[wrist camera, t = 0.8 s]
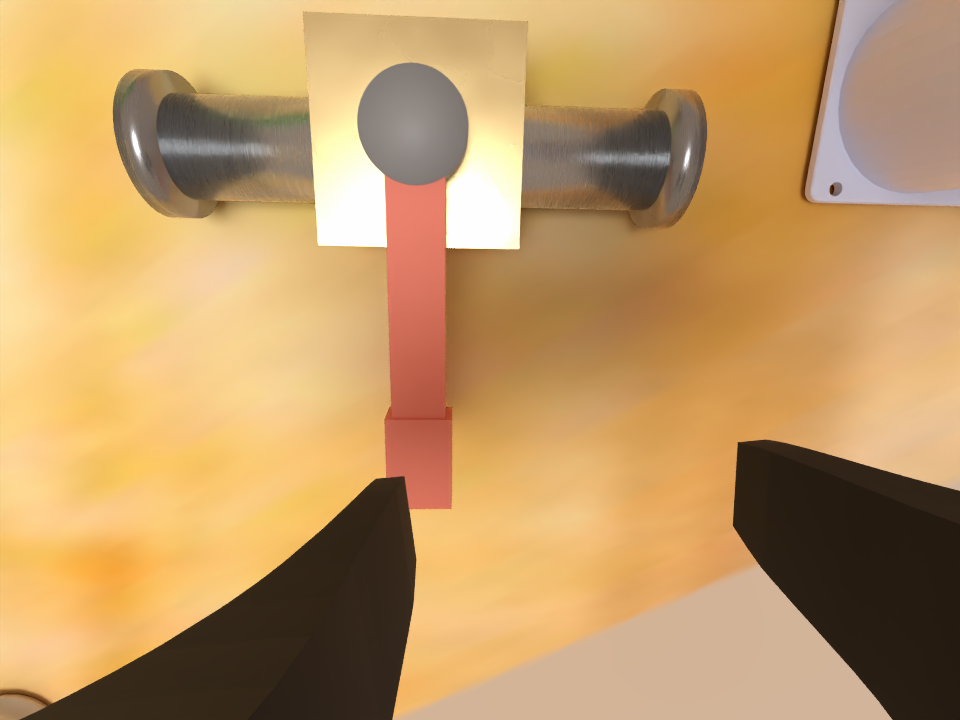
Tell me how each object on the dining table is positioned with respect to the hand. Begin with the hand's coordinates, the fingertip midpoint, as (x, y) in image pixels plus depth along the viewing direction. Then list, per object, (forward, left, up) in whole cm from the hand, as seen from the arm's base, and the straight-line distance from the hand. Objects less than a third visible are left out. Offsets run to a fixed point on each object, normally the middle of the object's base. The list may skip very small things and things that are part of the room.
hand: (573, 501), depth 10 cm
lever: (+4, -3, -5) cm, 7 cm away
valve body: (+4, -8, -10) cm, 14 cm away
